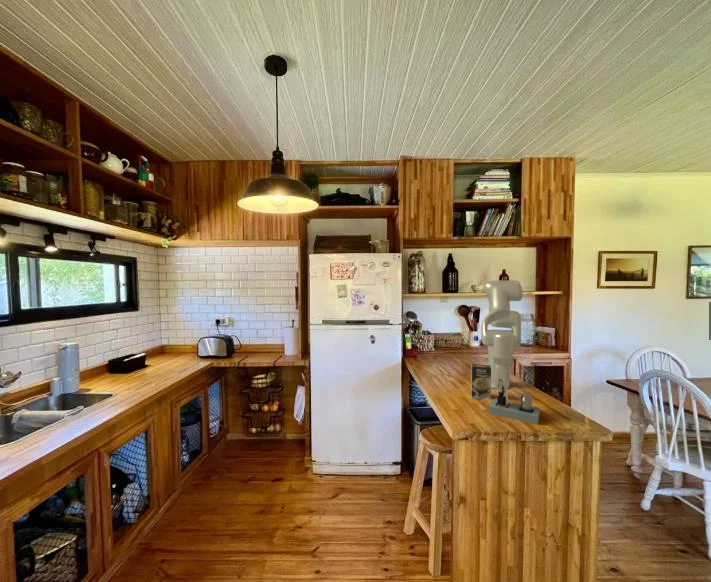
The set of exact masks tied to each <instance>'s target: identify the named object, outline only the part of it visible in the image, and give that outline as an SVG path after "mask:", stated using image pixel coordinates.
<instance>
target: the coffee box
mask: <svg viewBox="0 0 711 582" xmlns="http://www.w3.org/2000/svg"><path fill="white" fill-rule="evenodd" d="M470 365H471V367H470V370H471V374H470V381H471V382H470V398H471V399H475V400H482V399H492V388H491V367H490V365H488V364H477V363H471V364H470Z"/></svg>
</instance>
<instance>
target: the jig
mask: <svg viewBox="0 0 711 582" xmlns="http://www.w3.org/2000/svg"><path fill="white" fill-rule="evenodd" d="M488 414H490V415H494V416H498V417H502V418H506V419H511V420H517V421H520V422H526V423H529V424H534V425H539V421H540V417H541V416H540V415H541V407H537V406H533V405H532V413H529V412H525V411H521V403H516V402H511V401H508V408H505V407H500V406H498V398H497V399H496V398H494V399H493V400H492V401H491V402H490V404H489V406H488Z"/></svg>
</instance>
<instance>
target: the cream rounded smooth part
mask: <svg viewBox="0 0 711 582" xmlns="http://www.w3.org/2000/svg"><path fill="white" fill-rule="evenodd" d="M502 389H504V388H503V387H502ZM502 391H503V390H502ZM503 392H504V391H503ZM505 396H506V406H503V405H498V406H500V407H505V408H508V402H509V388H507V389H506V390H505Z"/></svg>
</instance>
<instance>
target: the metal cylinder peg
mask: <svg viewBox="0 0 711 582" xmlns="http://www.w3.org/2000/svg"><path fill="white" fill-rule="evenodd" d="M520 404H521V411H525V412H529V413H532V406H533V395H532V394H530V393H529V394H528V393H521V394H520Z"/></svg>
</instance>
